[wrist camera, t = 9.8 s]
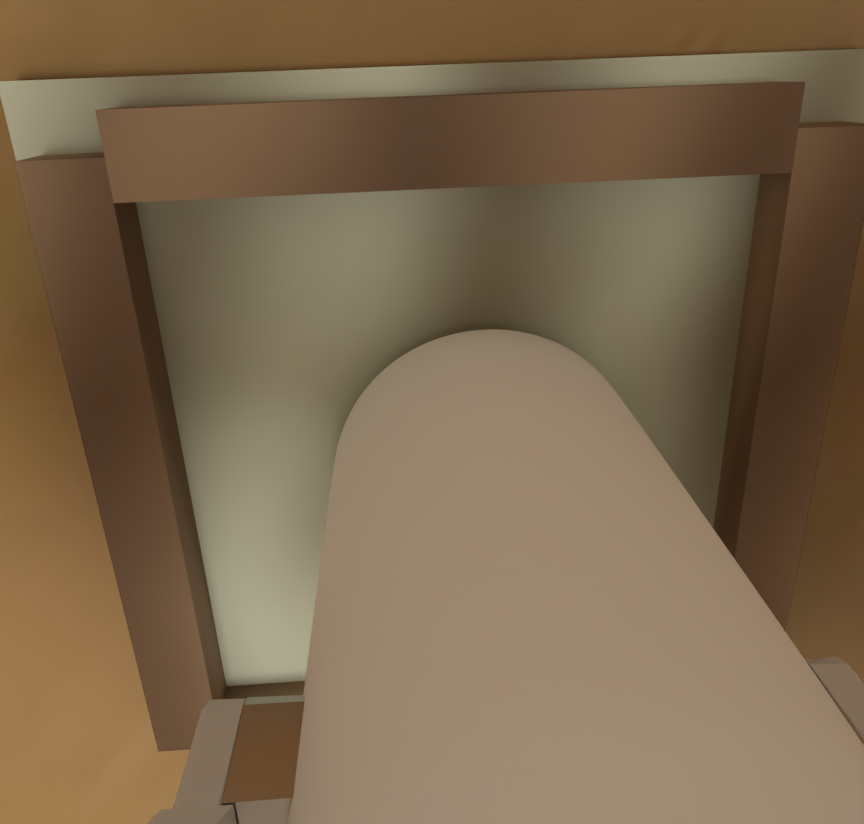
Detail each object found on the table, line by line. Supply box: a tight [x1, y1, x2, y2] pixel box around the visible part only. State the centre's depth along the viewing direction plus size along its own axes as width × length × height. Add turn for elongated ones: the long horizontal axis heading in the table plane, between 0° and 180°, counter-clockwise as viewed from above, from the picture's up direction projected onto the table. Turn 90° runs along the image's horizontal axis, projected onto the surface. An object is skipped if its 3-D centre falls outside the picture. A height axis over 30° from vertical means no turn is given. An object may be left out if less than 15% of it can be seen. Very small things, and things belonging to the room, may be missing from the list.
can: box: [287, 329, 864, 824], centre depth 11 cm, size 6×6×12 cm
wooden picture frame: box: [0, 49, 864, 752], centre depth 17 cm, size 16×16×2 cm
